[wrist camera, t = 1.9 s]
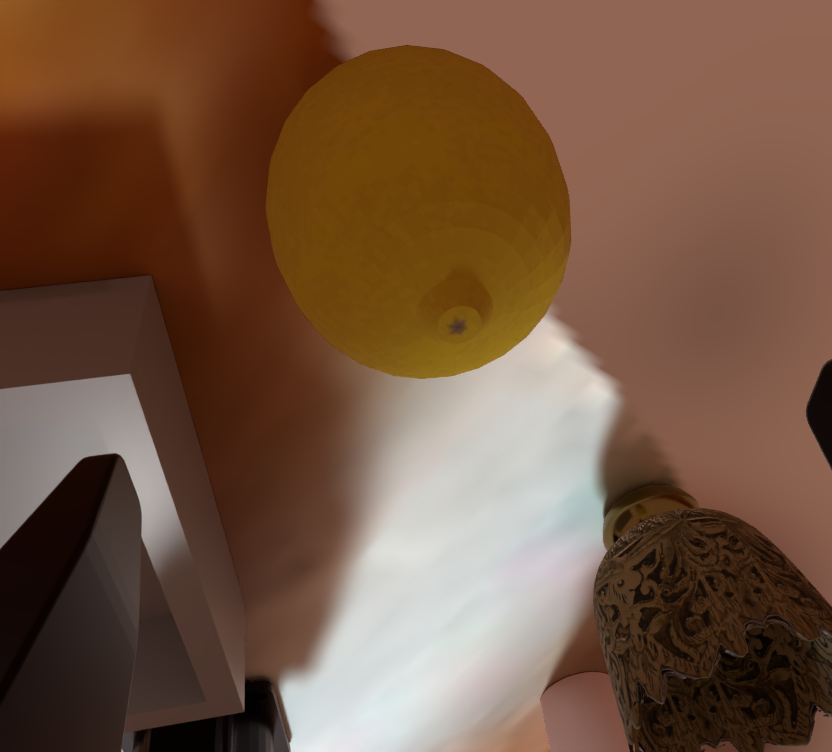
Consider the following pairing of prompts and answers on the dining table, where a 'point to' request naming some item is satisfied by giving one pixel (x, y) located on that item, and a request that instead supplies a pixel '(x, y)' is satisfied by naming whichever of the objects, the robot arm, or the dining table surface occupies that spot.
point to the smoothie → (583, 715)
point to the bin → (148, 467)
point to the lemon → (418, 212)
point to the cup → (707, 629)
